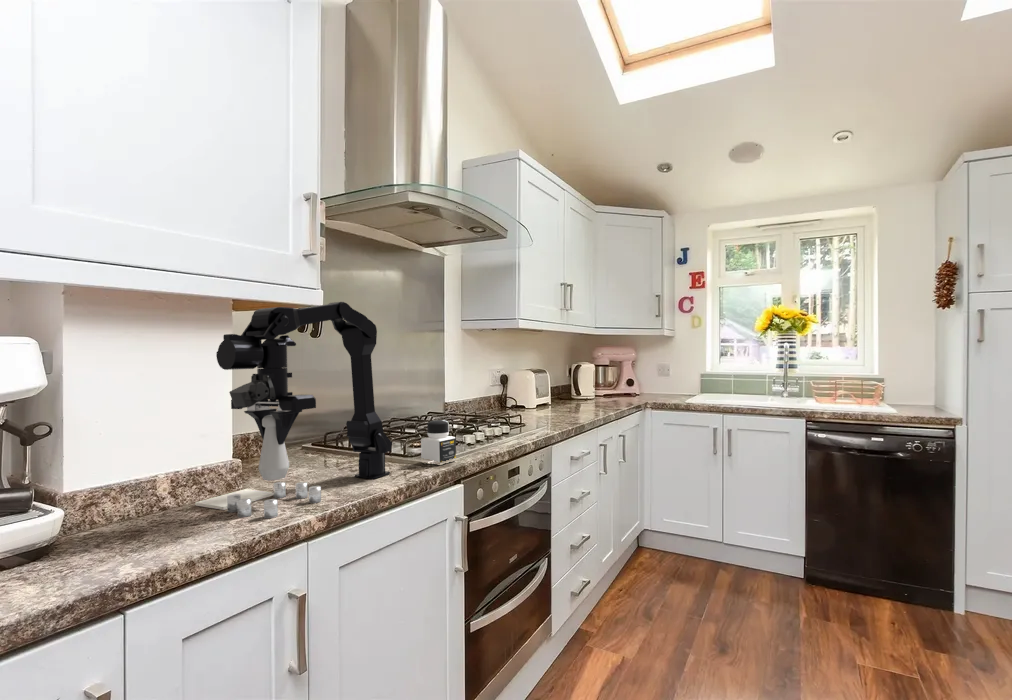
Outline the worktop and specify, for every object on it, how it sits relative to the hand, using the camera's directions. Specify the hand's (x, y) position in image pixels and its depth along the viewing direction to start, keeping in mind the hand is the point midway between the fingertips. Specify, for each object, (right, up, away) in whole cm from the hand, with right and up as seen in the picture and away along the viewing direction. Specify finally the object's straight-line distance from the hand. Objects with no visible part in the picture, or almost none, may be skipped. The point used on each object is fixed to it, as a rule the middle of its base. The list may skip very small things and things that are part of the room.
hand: (273, 443), depth 106 cm
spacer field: (0, -13, 0) cm, 13 cm away
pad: (-11, -13, +5) cm, 17 cm away
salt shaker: (0, -7, 0) cm, 7 cm away
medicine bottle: (+29, -13, +40) cm, 51 cm away
